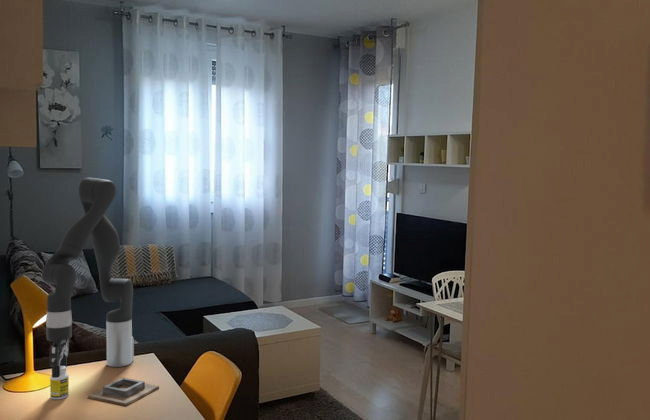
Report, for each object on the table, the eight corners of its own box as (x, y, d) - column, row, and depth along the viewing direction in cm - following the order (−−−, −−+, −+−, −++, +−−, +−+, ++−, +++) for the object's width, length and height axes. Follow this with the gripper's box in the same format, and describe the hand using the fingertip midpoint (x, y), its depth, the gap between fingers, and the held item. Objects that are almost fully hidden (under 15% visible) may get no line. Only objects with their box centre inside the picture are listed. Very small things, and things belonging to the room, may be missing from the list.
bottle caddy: (122, 381, 196) (122, 372, 196) (158, 388, 191) (158, 379, 190) (87, 397, 182) (87, 388, 181) (126, 406, 176) (126, 396, 176)
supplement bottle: (61, 400, 179) (61, 371, 178) (46, 399, 180) (46, 369, 180) (72, 394, 184) (71, 365, 184) (57, 392, 185) (57, 364, 185)
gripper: (65, 329, 174) (66, 379, 175) (76, 318, 188) (76, 365, 189) (40, 330, 173) (40, 381, 174) (52, 319, 187) (53, 366, 188)
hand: (59, 372), depth 181 cm, fingers open, 8 cm apart
